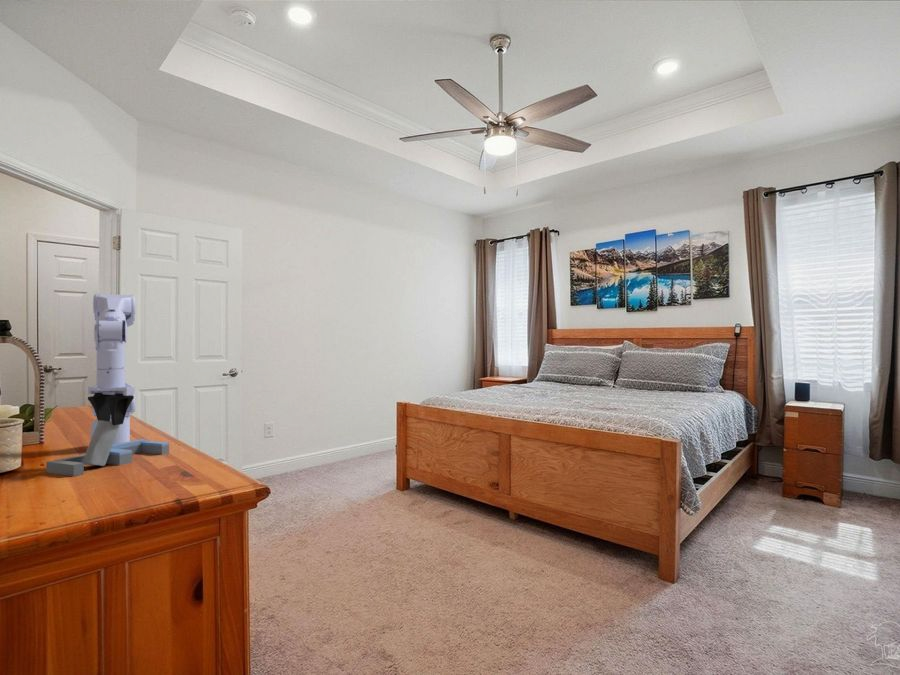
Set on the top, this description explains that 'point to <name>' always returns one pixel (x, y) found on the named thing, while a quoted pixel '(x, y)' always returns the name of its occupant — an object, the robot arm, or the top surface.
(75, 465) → the grey flat angled piece
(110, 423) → the grey cylinder
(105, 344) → the robot arm
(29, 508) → the top surface
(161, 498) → the top surface
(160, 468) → the top surface
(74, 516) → the top surface
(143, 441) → the blue u-shaped bracket
